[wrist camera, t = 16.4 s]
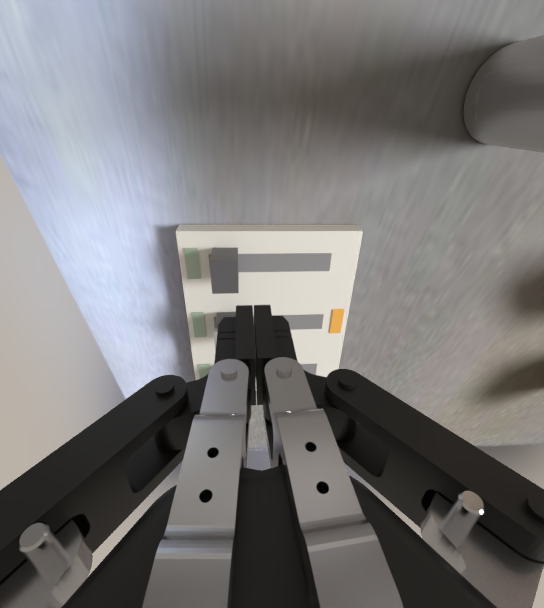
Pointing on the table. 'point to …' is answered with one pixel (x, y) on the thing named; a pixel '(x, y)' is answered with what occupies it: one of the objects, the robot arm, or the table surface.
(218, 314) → the block
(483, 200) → the table surface
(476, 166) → the table surface
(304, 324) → the breaker panel
